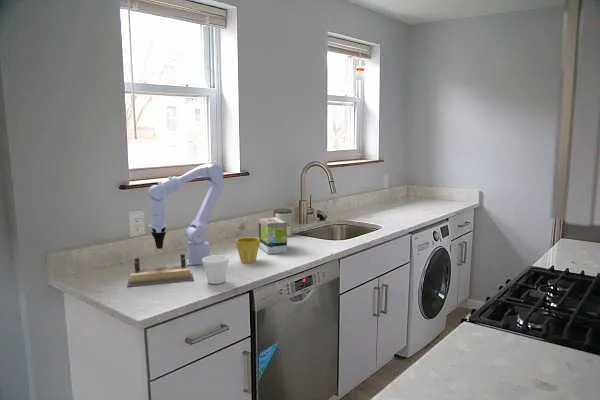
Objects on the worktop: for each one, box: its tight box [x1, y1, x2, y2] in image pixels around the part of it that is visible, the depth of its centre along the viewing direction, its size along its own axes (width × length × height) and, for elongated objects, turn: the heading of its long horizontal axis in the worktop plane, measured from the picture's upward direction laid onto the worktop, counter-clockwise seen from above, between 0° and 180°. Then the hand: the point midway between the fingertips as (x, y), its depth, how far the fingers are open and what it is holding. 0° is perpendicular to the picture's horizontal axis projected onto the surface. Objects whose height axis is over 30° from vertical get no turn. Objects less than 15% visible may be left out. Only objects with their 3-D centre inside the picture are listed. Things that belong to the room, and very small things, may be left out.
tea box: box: [258, 217, 288, 255], centre depth 222 cm, size 15×10×15 cm, turn 22°
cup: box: [202, 254, 229, 285], centre depth 175 cm, size 10×10×9 cm
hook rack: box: [131, 253, 189, 273], centre depth 188 cm, size 22×8×6 cm, turn 107°
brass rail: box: [129, 267, 191, 283], centre depth 178 cm, size 22×3×3 cm, turn 107°
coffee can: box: [272, 208, 293, 238], centre depth 254 cm, size 10×10×14 cm
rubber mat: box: [126, 272, 194, 288], centre depth 178 cm, size 24×9×1 cm, turn 107°
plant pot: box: [235, 236, 260, 264], centre depth 203 cm, size 10×10×10 cm
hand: (159, 246), depth 193 cm, fingers open, 7 cm apart
